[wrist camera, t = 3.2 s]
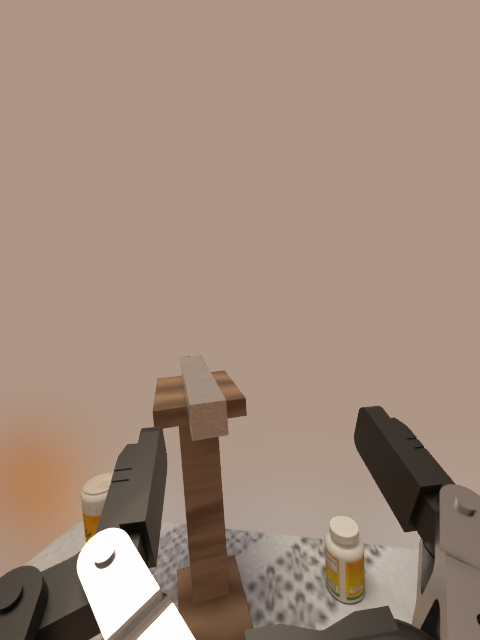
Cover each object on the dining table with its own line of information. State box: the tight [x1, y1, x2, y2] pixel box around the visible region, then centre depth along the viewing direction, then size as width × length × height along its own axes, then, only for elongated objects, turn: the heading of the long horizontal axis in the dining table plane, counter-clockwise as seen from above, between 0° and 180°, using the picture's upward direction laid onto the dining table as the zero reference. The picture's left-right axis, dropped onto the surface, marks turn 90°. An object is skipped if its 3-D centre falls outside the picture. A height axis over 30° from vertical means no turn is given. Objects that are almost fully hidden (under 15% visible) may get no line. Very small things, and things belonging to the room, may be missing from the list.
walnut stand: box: [153, 371, 253, 640], centre depth 41 cm, size 13×10×32 cm
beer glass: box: [81, 473, 113, 543], centre depth 49 cm, size 6×6×15 cm
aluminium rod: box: [180, 355, 228, 441], centre depth 35 cm, size 20×3×3 cm, turn 13°
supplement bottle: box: [325, 516, 365, 603], centre depth 44 cm, size 5×5×10 cm
